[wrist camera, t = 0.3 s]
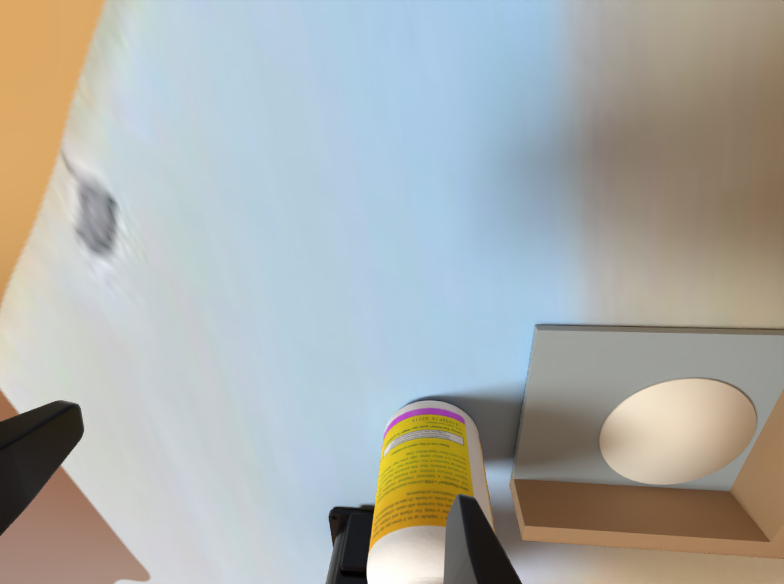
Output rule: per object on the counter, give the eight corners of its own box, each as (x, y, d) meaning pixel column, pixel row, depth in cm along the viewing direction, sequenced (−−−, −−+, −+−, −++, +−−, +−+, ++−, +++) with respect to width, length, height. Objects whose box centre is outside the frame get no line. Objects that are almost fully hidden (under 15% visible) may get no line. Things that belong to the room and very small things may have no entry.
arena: (737, 499, 26) (787, 559, 23) (509, 485, 28) (521, 540, 24) (830, 330, 21) (917, 376, 17) (535, 325, 22) (556, 365, 18)
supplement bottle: (366, 418, 26) (318, 654, 15) (447, 381, 24) (466, 620, 13) (416, 476, 28) (410, 723, 17) (495, 446, 26) (549, 703, 15)
